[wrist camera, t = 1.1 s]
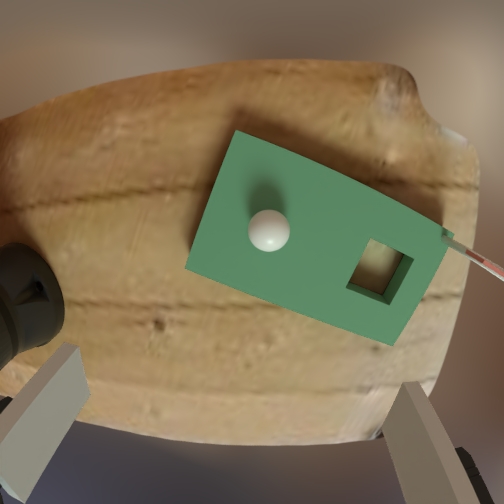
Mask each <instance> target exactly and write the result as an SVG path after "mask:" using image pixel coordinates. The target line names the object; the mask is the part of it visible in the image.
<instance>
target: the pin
mask: <svg viewBox="0 0 504 504" xmlns="http://www.w3.org/2000/svg"><path fill="white" fill-rule="evenodd" d="M441 242H443V243H444V244H446V245H448V246H449V247H451V248H453V249H454V250H456V251H458V252H459V253H461V254H462V255H464V256H466V257H467V258H469V259H471V260H472V261H474V262H475V263H477V264H479V265H480V266H482V267H483V268H485V269H486V270H488V271H489V272H491V273H492V274H494V275H495V276H497V277H498V278H500V279H501V280H503V281H504V269H503V268H501V267H500V266H498V265H497V264H495V263H493V262H492V261H490V260H488V259H487V258H485V257H483V256H481V255H480V254H478V253H476V252H475V251H473V250H471V249H469V248H468V247H466V246H464V245H462V244H460V243H459V242H457V241H455V240H453V239H451V238H450V237H448V236H446V235H443V236H442V237H441Z"/></svg>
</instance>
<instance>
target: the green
mask: <svg viewBox="0 0 504 504" xmlns="http://www.w3.org/2000/svg"><path fill="white" fill-rule="evenodd" d="M263 210H275V211H278V212H280V213H281V214H282V215H284V216H285V218H286V219H287V221H288V223H289V226H290V235H289V238H288V241H287V242H286V244H285V245H284V246H283V247H282V248H280V249H278V250H276V251H272V252H266V251H262V250H260V249H258V248H256V247H255V246H254V245H253V244H252V242H251V241H250V239H249V236H248V225H249V222H250V220H251V219H252V217H253V216H254V215H255V214H257V213H258V212H260V211H263ZM443 235H446V236H448V237H450V238H451V239H452V238H453V236H454V233H452V232H450V231H449V230H447V229H445V228H444V227H442V226H440V225H438V224H437V223H435V222H433V221H432V220H430V219H428V218H426V217H424V216H423V215H421V214H419V213H417V212H416V211H414V210H412V209H410V208H408V207H406V206H405V205H403V204H401V203H399V202H397V201H395V200H393V199H391V198H389V197H388V196H386V195H384V194H382V193H380V192H378V191H376V190H374V189H372V188H370V187H368V186H366V185H364V184H362V183H360V182H358V181H356V180H354V179H351V178H349V177H347V176H345V175H343V174H341V173H339V172H337V171H334V170H332V169H330V168H328V167H326V166H323V165H321V164H319V163H317V162H314V161H312V160H310V159H308V158H305V157H303V156H301V155H298V154H296V153H294V152H291V151H289V150H286V149H284V148H282V147H279V146H277V145H274V144H272V143H269V142H267V141H264V140H261V139H259V138H256V137H254V136H251V135H248V134H246V133H243V132H240V131H238V130H236V131H235V133H234V136H233V138H232V141H231V143H230V146H229V148H228V151H227V153H226V156H225V158H224V161H223V163H222V166H221V169H220V171H219V174H218V176H217V179H216V182H215V184H214V187H213V190H212V192H211V195H210V198H209V200H208V203H207V206H206V209H205V211H204V214H203V217H202V220H201V222H200V225H199V228H198V231H197V234H196V237H195V239H194V242H193V245H192V248H191V251H190V254H189V257H188V260H187V263H186V266H185V269H187V270H190V271H192V272H195V273H197V274H199V275H202V276H204V277H207V278H209V279H212V280H214V281H217V282H219V283H222V284H224V285H227V286H229V287H232V288H234V289H237V290H240V291H242V292H245V293H247V294H250V295H252V296H255V297H258V298H260V299H263V300H265V301H268V302H271V303H273V304H276V305H279V306H281V307H284V308H287V309H289V310H292V311H295V312H297V313H300V314H303V315H305V316H308V317H311V318H314V319H316V320H319V321H322V322H325V323H327V324H330V325H333V326H336V327H339V328H341V329H344V330H347V331H350V332H353V333H356V334H358V335H361V336H364V337H367V338H370V339H373V340H376V341H379V342H382V343H385V344H388V345H391V346H393V345H394V343H395V342H396V340H397V339H398V337H399V335H400V334H401V332H402V331H403V329H404V327H405V326H406V324H407V323H408V321H409V319H410V318H411V316H412V314H413V313H414V311H415V309H416V307H417V306H418V304H419V302H420V300H421V299H422V297H423V295H424V293H425V292H426V290H427V288H428V286H429V284H430V282H431V281H432V279H433V277H434V275H435V273H436V271H437V269H438V267H439V265H440V263H441V261H442V259H443V257H444V255H445V253H446V251H447V249H448V247H449V246H448V245H446V244H444V243H443V242H441V237H442V236H443ZM370 238H372V239H374V240H376V241H378V242H381V243H383V244H385V245H387V246H389V247H391V248H393V249H395V250H397V251H399V252H401V253H403V254H404V256H403V258H402V260H401V262H400V264H399V266H398V268H397V269H396V271H395V273H394V275H393V277H392V279H391V281H390V283H389V285H388V286H387V288H386V290H385V292H384V294H383V296H382V295H380V294H377V293H375V292H372V291H370V290H367V289H365V288H363V287H360V286H358V285H355V284H353V283H350V282H349V280H350V278H351V276H352V274H353V272H354V270H355V268H356V266H357V264H358V262H359V260H360V258H361V256H362V254H363V252H364V250H365V248H366V246H367V244H368V242H369V240H370Z"/></svg>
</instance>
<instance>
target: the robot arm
mask: <svg viewBox="0 0 504 504" xmlns="http://www.w3.org/2000/svg"><path fill="white" fill-rule="evenodd" d="M63 322H64V303H63V298H62V294H61V291H60V288H59V285H58V283H57V281H56V279H55V277H54V275H53V273H52V271H51V270H50V268H49V267H48V265H47V264H46V262H45V261H44V260H43V259H42V258H41V257H40V255H38V254H37V253H36V252H35V251H34V250H33V249H31V248H30V247H28V246H26V245H24V244H21V243H9V244H7V245H5V246H2V247H0V370H1V369H2V368H3V367H4V366H5V365H6V364H7V363H8V362H9V361H10V360H12V359H13V358H14V357H15V356H16V355H17V354H19V353H21V352H24V351H27V350H29V349H32V348H34V347H39V346H43V345H45V344H47V343H48V342H50V341H51V340H52V339H53V338H54V337H55V336H56V335H57V334H58V333H59V332H60V330H61V328H62V326H63ZM90 395H91V394H90V391H89V387H88V383H87V379H86V375H85V371H84V367H83V363H82V358H81V354H80V349H79V346H76V345H72V344H69V343H65V342H64V343H63V344H62V345H61V346H60V347H59V348H58V350H57V351H56V352H55V353H54V354H53V355H52V356H51V357H50V358H49V359H48V360H47V361H46V363H45V364H44V365H43V366H42V367H41V368H40V369H39V370H38V371H37V372H36V374H35V375H34V376H33V377H32V378H31V379H30V380H29V381H28V383H27V384H26V385H25V386H24V387H23V388H22V389H21V391H20V392H19V393H18V394H17V395H16V396H15V398H14V399H13V398H11V397H9V396H7V397H6V398H4V399H2V400H1V401H0V488H1V487H3V488H4V489H5V490H6V492H7V493H8V494H9V495H11V496H13V497H14V498H16V499H17V500H19V501H21V502H23V503H24V504H25V502H26V500H27V499H28V497H29V495H30V493H31V491H32V490H33V488H34V486H35V484H36V483H37V481H38V479H39V478H40V475H41V474H42V472H43V471H44V469H45V467H46V466H47V464H48V462H49V461H50V459H51V457H52V456H53V454H54V452H55V450H56V449H57V447H58V445H59V444H60V442H61V441H62V439H63V437H64V436H65V434H66V433H67V431H68V429H69V428H70V426H71V425H72V423H73V421H74V420H75V418H76V417H77V415H78V414H79V412H80V410H81V409H82V407H83V406H84V404H85V403H86V401H87V400H88V398H89V396H90ZM381 428H382V431H383V434H384V437H385V440H386V442H387V445H388V448H389V451H390V454H391V457H392V460H393V464H394V467H395V470H396V473H397V476H398V479H399V482H400V485H401V489H402V492H403V495H404V499H405V502H406V504H494V502H493V500H492V498H491V496H490V494H489V491H488V490H487V487H486V485H485V483H484V481H483V479H482V477H481V475H479V474H480V473H479V471H478V469H477V467H475V463H474V461H473V459H472V457H471V455H470V454H469V453H468V452H467V451H466V450H464V449H463V448H462V447H459V448H455V449H454V447H453V445H452V443H451V441H450V439H449V437H448V435H447V433H446V431H445V429H444V427H443V426H442V424H441V422H440V420H439V418H438V416H437V414H436V412H435V411H434V409H433V407H432V405H431V403H430V401H429V399H428V398H427V396H426V394H425V392H424V390H423V389H422V387H421V385H420V383H419V382H403V383H402V385H401V388H400V390H399V392H398V394H397V397H396V399H395V401H394V403H393V405H392V407H391V409H390V411H389V413H388V415H387V417H386V419H385V421H384V423H383V425H382V427H381ZM0 504H4V503H3V499H2V495H1V493H0Z"/></svg>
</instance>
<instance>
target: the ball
mask: <svg viewBox="0 0 504 504" xmlns="http://www.w3.org/2000/svg"><path fill="white" fill-rule="evenodd" d="M289 235H290V226H289V223H288V221H287V219H286V218H285V216H284V215H282V214H281V213H280V212H278V211H275V210H263V211H260V212H258V213H257V214H255V215H254V216H253V217H252V219H251V220H250V222H249V225H248V236H249V239H250V241H251V242H252V244H253V245H254V246H255V247H256V248H258V249H260V250H262V251H266V252H272V251H276V250H278V249H280V248H282V247H283V246H284V245H285V244H286V242H287V241H288V238H289Z"/></svg>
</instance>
